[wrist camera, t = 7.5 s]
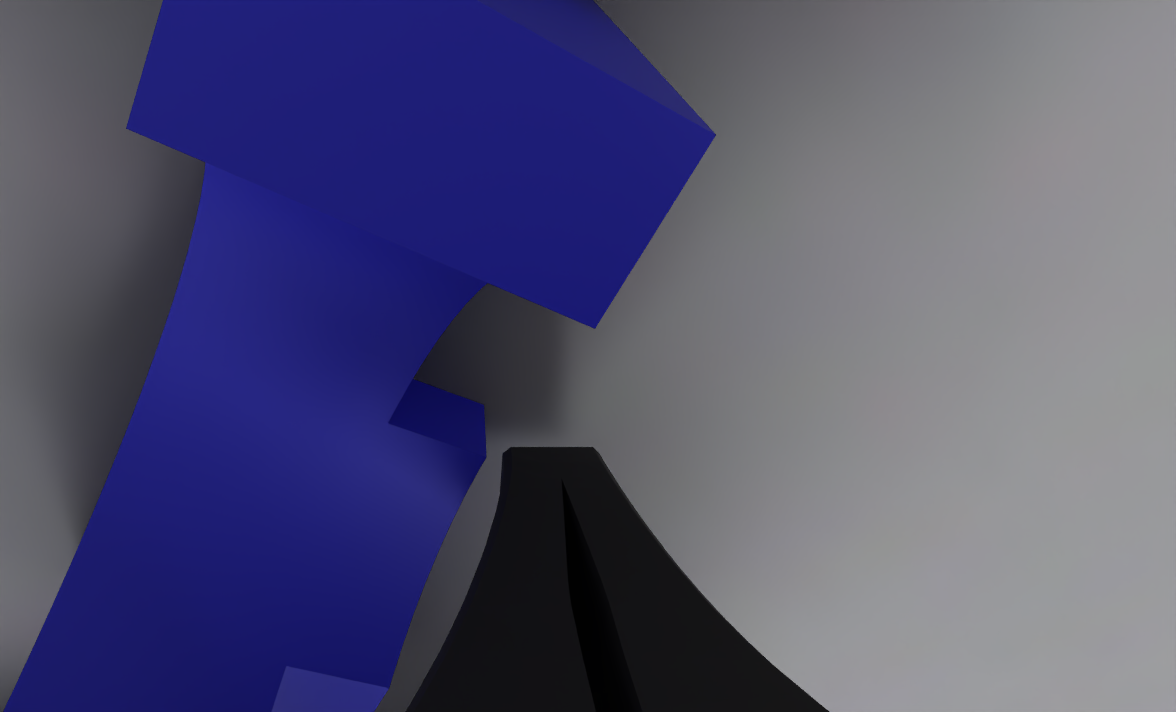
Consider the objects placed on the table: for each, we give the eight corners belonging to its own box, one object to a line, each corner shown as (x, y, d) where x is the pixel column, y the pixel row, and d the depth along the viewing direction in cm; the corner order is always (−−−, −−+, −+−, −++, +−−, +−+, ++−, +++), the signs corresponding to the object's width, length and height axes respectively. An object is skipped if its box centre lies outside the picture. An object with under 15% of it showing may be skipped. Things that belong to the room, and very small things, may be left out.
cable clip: (346, 635, 15) (292, 1017, 10) (89, 574, 14) (-125, 994, 9) (684, 51, 10) (894, 234, 5) (349, -150, 9) (205, -153, 4)
